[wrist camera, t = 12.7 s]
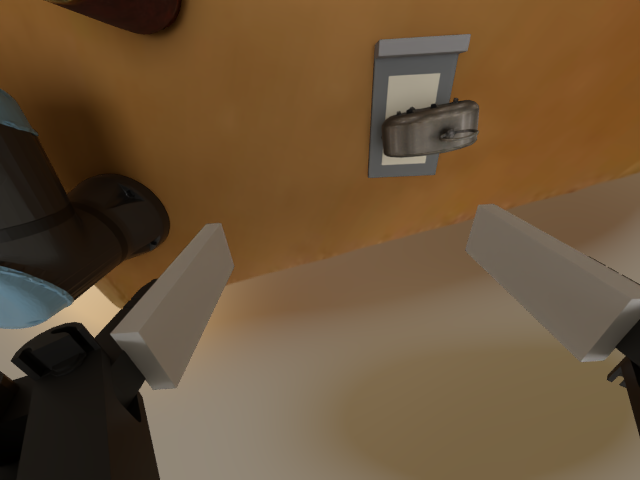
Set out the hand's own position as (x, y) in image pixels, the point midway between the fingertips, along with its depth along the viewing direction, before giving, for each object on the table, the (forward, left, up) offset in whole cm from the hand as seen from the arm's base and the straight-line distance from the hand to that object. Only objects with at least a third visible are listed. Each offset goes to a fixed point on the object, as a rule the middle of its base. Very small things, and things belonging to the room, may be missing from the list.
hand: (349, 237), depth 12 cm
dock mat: (+12, +3, -30) cm, 32 cm away
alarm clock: (+12, +3, -29) cm, 31 cm away
